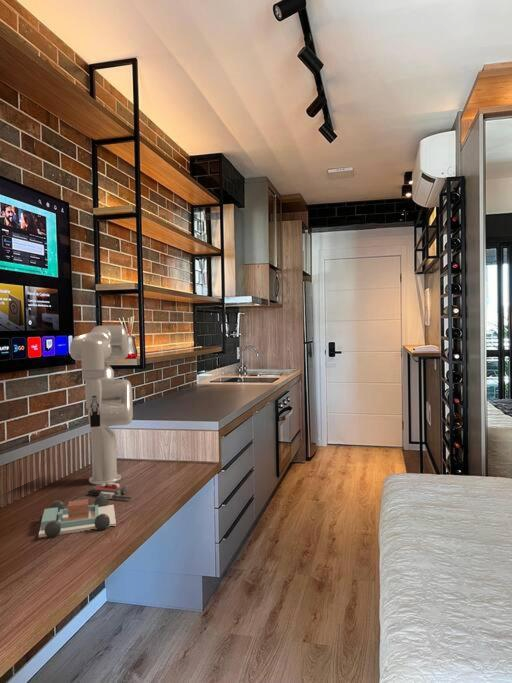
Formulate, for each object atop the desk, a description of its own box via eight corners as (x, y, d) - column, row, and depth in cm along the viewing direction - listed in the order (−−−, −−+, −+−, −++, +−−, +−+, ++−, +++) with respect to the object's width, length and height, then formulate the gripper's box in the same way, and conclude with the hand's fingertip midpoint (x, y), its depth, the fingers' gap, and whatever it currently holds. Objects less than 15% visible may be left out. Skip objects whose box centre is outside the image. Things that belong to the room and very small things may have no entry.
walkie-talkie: (84, 497, 183) (129, 503, 176) (83, 485, 183) (129, 490, 176) (99, 490, 192) (143, 495, 184) (99, 479, 191) (143, 483, 184)
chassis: (44, 515, 165) (44, 502, 165) (113, 506, 172) (113, 493, 172) (38, 539, 146) (37, 524, 146) (116, 528, 153) (115, 513, 152)
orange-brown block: (69, 516, 160) (68, 501, 160) (88, 514, 162) (88, 498, 162) (68, 522, 156) (67, 506, 156) (88, 519, 158) (88, 503, 157)
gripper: (82, 374, 180) (84, 421, 181) (81, 377, 164) (83, 429, 164) (104, 372, 183) (105, 419, 183) (105, 376, 166) (107, 427, 166)
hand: (95, 424), depth 174 cm, fingers open, 9 cm apart
